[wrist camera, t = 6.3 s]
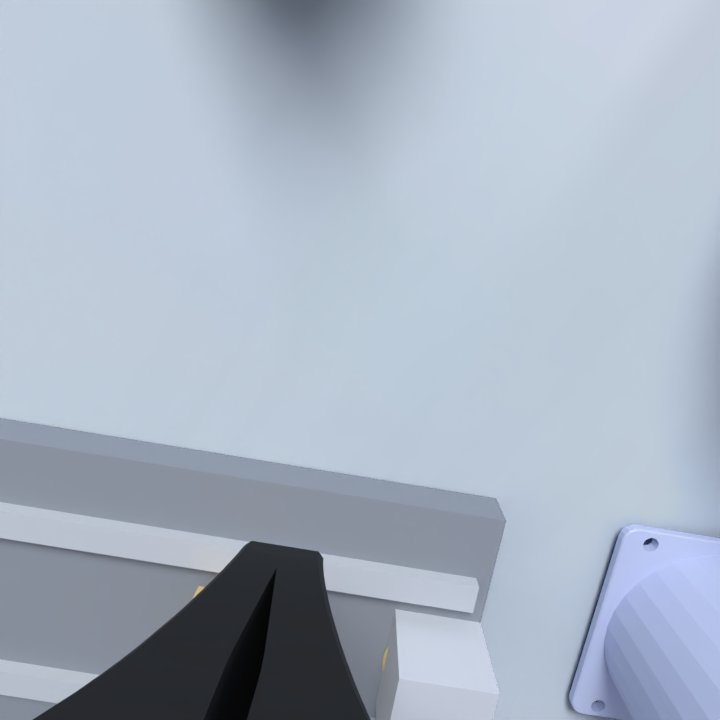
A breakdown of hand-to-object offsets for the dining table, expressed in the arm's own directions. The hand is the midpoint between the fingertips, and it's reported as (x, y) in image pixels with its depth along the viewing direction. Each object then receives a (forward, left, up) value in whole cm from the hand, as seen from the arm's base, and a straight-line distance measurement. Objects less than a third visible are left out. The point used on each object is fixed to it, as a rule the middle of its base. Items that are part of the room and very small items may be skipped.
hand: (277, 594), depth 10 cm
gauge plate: (+3, +8, -9) cm, 13 cm away
